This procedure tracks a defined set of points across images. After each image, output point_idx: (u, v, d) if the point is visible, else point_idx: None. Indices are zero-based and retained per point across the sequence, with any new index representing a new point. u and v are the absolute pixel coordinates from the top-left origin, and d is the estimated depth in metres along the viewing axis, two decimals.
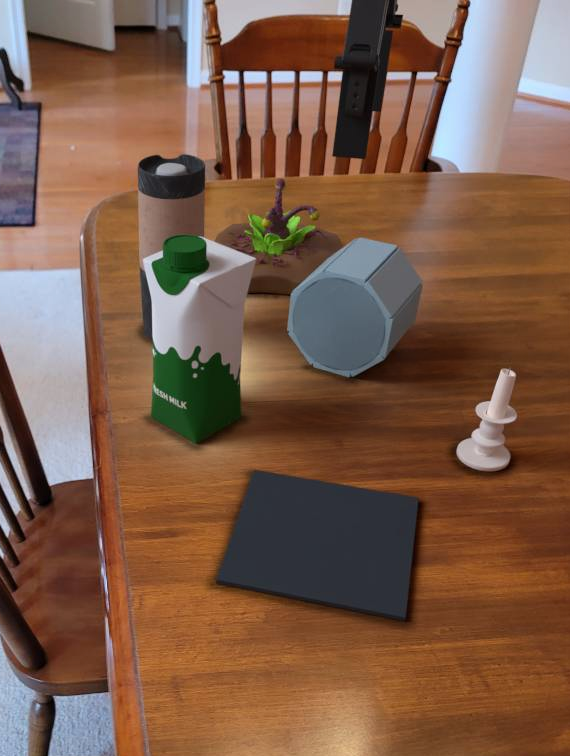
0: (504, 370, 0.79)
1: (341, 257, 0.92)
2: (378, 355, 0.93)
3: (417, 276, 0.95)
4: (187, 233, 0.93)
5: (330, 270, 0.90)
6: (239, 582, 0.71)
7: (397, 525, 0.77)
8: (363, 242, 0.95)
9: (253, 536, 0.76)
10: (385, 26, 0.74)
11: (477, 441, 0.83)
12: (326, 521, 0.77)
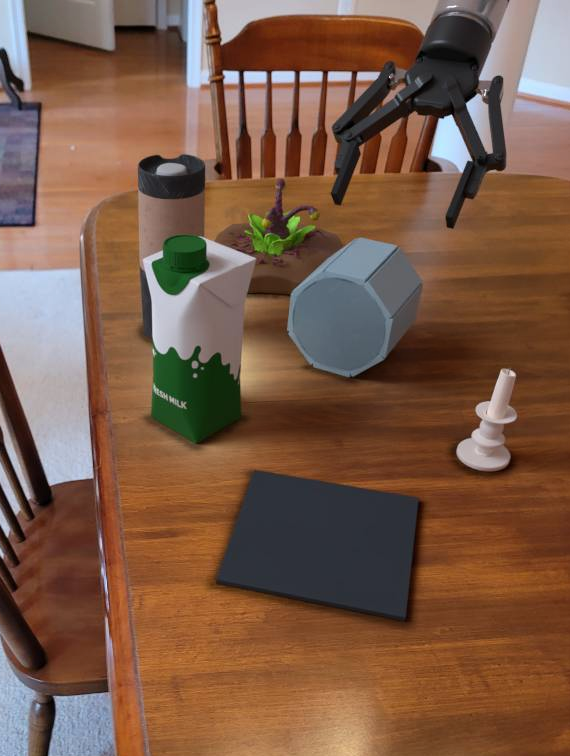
0: (504, 370, 0.79)
1: (341, 257, 0.92)
2: (378, 355, 0.93)
3: (417, 276, 0.95)
4: (187, 233, 0.93)
5: (330, 270, 0.90)
6: (239, 582, 0.71)
7: (397, 525, 0.77)
8: (363, 242, 0.95)
9: (253, 536, 0.76)
10: None
11: (477, 441, 0.83)
12: (326, 521, 0.77)
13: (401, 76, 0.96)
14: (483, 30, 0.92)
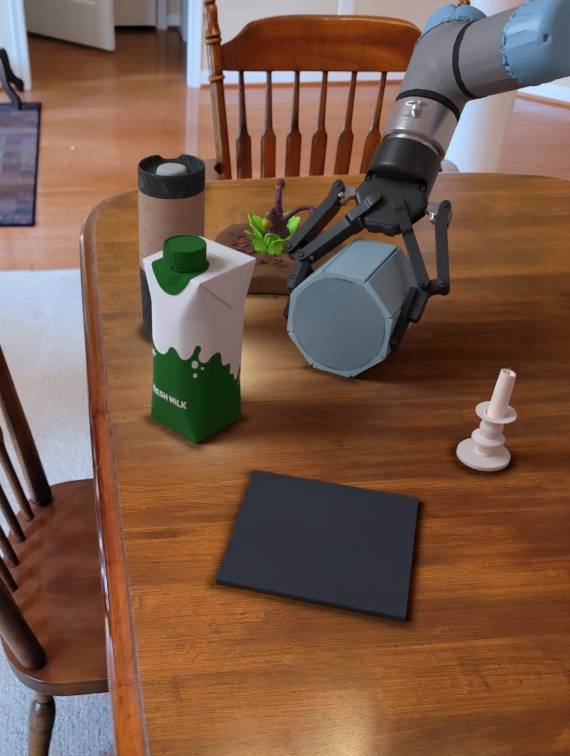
0: (504, 370, 0.79)
1: (340, 257, 0.92)
2: (377, 355, 0.93)
3: None
4: (187, 233, 0.93)
5: (330, 270, 0.90)
6: (239, 582, 0.71)
7: (397, 525, 0.77)
8: (363, 242, 0.95)
9: (253, 536, 0.76)
10: None
11: (477, 441, 0.83)
12: (326, 521, 0.77)
13: (351, 194, 0.95)
14: (431, 152, 0.91)
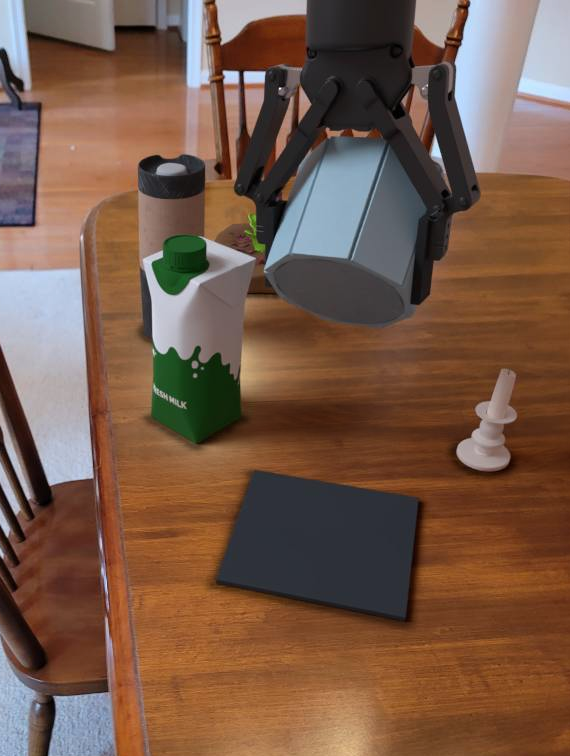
0: (504, 370, 0.79)
1: (309, 208, 0.65)
2: (403, 312, 0.68)
3: None
4: (187, 233, 0.93)
5: (298, 251, 0.64)
6: (239, 582, 0.71)
7: (397, 525, 0.77)
8: (336, 150, 0.65)
9: (253, 536, 0.76)
10: (275, 198, 0.70)
11: (477, 441, 0.83)
12: (326, 521, 0.77)
13: (296, 82, 0.63)
14: None
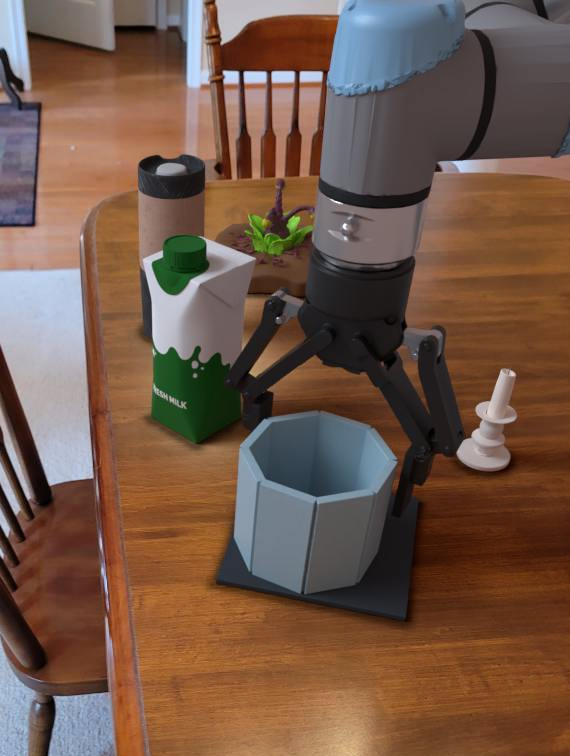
0: (504, 370, 0.79)
1: (257, 543, 0.69)
2: None
3: (363, 500, 0.64)
4: (187, 233, 0.93)
5: (257, 575, 0.72)
6: (239, 582, 0.71)
7: (397, 525, 0.77)
8: (269, 499, 0.66)
9: None
10: None
11: (477, 441, 0.83)
12: None
13: (293, 314, 0.65)
14: (389, 282, 0.57)
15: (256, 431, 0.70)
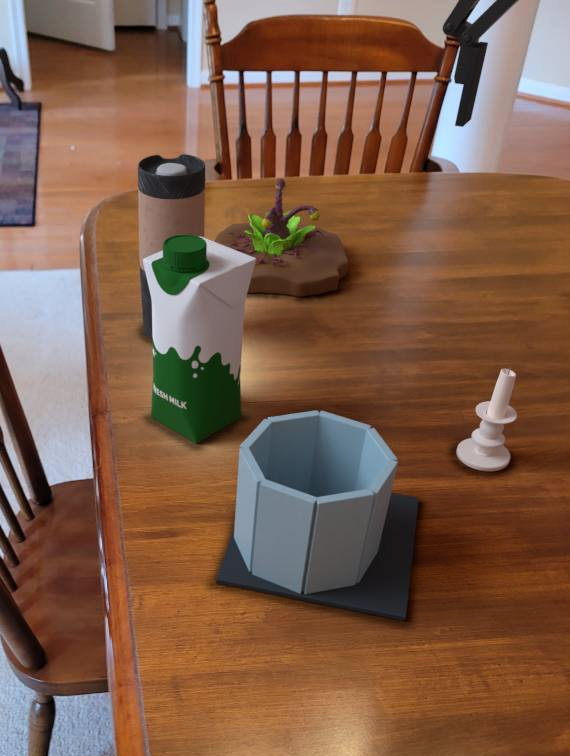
0: (504, 370, 0.79)
1: (257, 543, 0.69)
2: None
3: (363, 500, 0.64)
4: (187, 233, 0.93)
5: (257, 575, 0.72)
6: (239, 582, 0.71)
7: (397, 525, 0.77)
8: (269, 499, 0.66)
9: None
10: (478, 39, 0.76)
11: (477, 441, 0.83)
12: None
13: None
14: None
15: (256, 431, 0.70)
